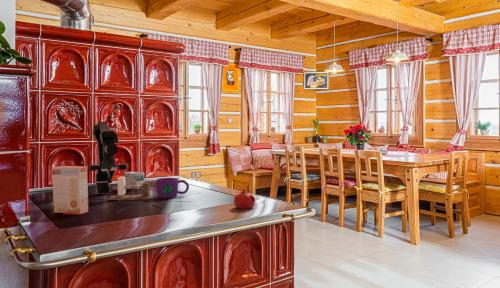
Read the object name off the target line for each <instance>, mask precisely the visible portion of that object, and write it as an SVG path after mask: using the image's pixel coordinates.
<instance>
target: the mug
mask: <svg viewBox="0 0 500 288" xmlns="http://www.w3.org/2000/svg"><path fill="white" fill-rule="evenodd" d="M181 183H184V185H185V186H186V187H185V190H183V191H180V190H179V184H181ZM189 189H190V185H189V183H188V182H187V181H186V180H185V179H180V180H179V179H178V178H176V177H162V178H161V177H160V178H158V179H156V194H157V197H158V198H159V199H166V200H168V199H175V198H176V197H177V196H178V194H179V195H185V194H187V193H188V191H189Z"/></svg>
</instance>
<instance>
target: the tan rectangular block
mask: <svg viewBox="0 0 500 288" xmlns="http://www.w3.org/2000/svg"><path fill="white" fill-rule="evenodd" d="M117 186H118V189H117V196H121V195H126V191H127V190H126V189H124V186H125V176H119V177H117Z"/></svg>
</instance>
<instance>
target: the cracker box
mask: <svg viewBox="0 0 500 288" xmlns="http://www.w3.org/2000/svg"><path fill="white" fill-rule="evenodd" d="M51 169H52V170H51V171H52V188H53V189H52V199H53V203H52V204H53V214H54V213H63V214H62V215H82V214H86V213H89V190H88V188H89V187H88V166H86V165H85V166H83V165H82V166H80V165H79V166H78V165H77V166H76V165H65V166H64V165H62V166H61V165H60V166H53V167H52V168H51Z"/></svg>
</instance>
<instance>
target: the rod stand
mask: <svg viewBox="0 0 500 288" xmlns="http://www.w3.org/2000/svg"><path fill="white" fill-rule="evenodd" d="M138 188H142V190H141V191H142V194H124V195H111V196H110V197H109V198H108V201H109V200H118V201H134V200H149V199H150V196H151V195H150V182H148V181H146V182H145V181H144V183H143V184H142V185H138V186H135V185H132V186H124V189H138ZM112 190H118V185H117V186H116V185H115V186H114V185H113V186H112Z"/></svg>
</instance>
